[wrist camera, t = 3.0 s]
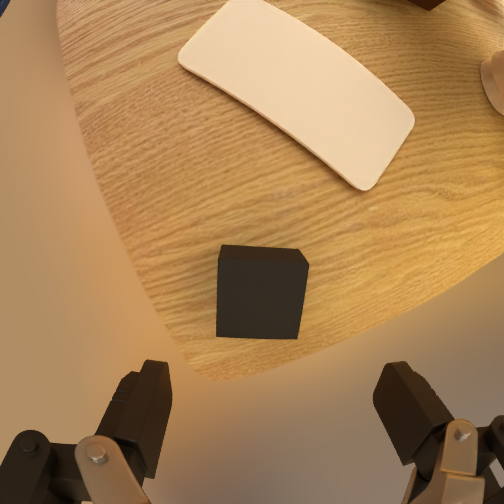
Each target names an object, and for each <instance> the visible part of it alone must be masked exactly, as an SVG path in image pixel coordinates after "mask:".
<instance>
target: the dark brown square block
mask: <svg viewBox="0 0 504 504" xmlns="http://www.w3.org/2000/svg"><path fill="white" fill-rule="evenodd" d="M308 270H309V263H308V261H307V260H306V259H305V257H304V256H303V254H302V253H301V252H300V250H299V249H287V248H270V247H254V246H236V245H222V246H221V250H220V254H219V258H218V279H217V320H216V336H217V337H229V338H251V339H297V338H298V333H299V327H300V321H301V315H302V309H303V303H304V297H305V290H306V283H307V277H308Z"/></svg>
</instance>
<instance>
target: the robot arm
mask: <svg viewBox="0 0 504 504" xmlns="http://www.w3.org/2000/svg"><path fill="white" fill-rule="evenodd" d="M0 1H1V0H0ZM373 404H374V407H375V409H376V411H377V413H378V414H379V417H380V419H381V421H382V423H383V425H384V427H385V429H386V431H387V433H388V435H389V437H390V439H391V441H392V443H393V445H394V447H395V449H396V451H397V454H398V456H399V458H400V460H401V462H402V464H403V466H404V465H407V464H410V463H413V462H414V463H415V465H416V466H415V467H414V469H413V471H412V474H411V477H410V480H409V483H408V486H407V490H406V492H405V495H404V498H403V501H402V503H401V504H504V487H503V488H501V487H500V486H499V484H498V482H497V480H496V478H495V476H494V474H493V473H492V471H491V469H490V467H489V466H490V464H491V463H492V462H493V461H494V460H495V459H496V458H497V459H498V461H499V463H500V464H501V466H502V468H503V470H504V415H500V416H497V417H495V418H494V420H493V421H492V423H491V424H490V425H489V426H487V427H479V428H476V427H475V426H474V425H473V424H472V423H471V422H469V421H467V420H464V419H456V420H455V419H454V418H453V416H452V415H451V413H450V412H449V410H448V409H447V408H446V406H445V405H444V404H443V402H442V401H441V400H440V398H439V397H438V395H437V396H436V393H435V391H434V390H433V389H431V386H430V385H429V383H428V382H427V381H426V379H425V378H423V377H422V376H421V375H419V374H418V373H416V372H413V370H412V369H411V367H410V366H409V365H408V363H406V362H405V361H400V362H393V363H387V364H386V365H385V366H384V368H383V371H382V373H381V376H380V379H379V381H378V383H377V386H376V388H375V390H374V393H373ZM171 406H172V388H171V382H170V374H169V367H168V363H167V362H162V361H154V360H146V361H145V362H144V364H143V366H142V369H141V371H140V372H134V371H131V372H130V373H129V374H127V375H126V376H125V377H124V378H122V379H121V381H120V383H119V385H118V387H117V389H116V392H115V393H114V395H113V397H112V401H110V404H109V406H108V408H107V410H106V412H105V414H104V416H103V418H102V420H101V423H100V425H99V427H98V429H97V431H96V433H95V434H94V435H93V436H89V437H86V438H84V439H82V440H81V441H80V442H79V443H78V444H60V443H50V442H49V440H48V439H47V438H46V436H45V435H44V434H42V433H41V432H39V431H35V430H26V431H23V432H21V433H19V434H18V435H17V436H16V437H15V439H14V440H13V442H12V444H11V446H10V448H9V450H8V452H7V454H6V456H5V458H4V460H3V462H2V464H1V466H0V504H81V502H82V501H90V502H93V504H151V502H150V500H149V499H148V498H147V496H146V494H145V492H144V491H143V489H142V485H143V481H144V477H146V478H151V479H154V478H155V473H156V469H157V464H158V460H159V456H160V452H161V447H162V443H163V439H164V435H165V431H166V427H167V423H168V419H169V415H170V411H171Z"/></svg>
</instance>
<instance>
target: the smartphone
mask: <svg viewBox="0 0 504 504" xmlns="http://www.w3.org/2000/svg"><path fill="white" fill-rule="evenodd" d="M178 61H179V63H180V64H181V66H182V67H183V68H185V69H186V70H188V71H190V72H192V73H194V74H195V75H197V76H199V77H201V78H202V79H204V80H206V81H208V82H209V83H211V84H213V85H214V86H216V87H218V88H219V89H221V90H223V91H224V92H226V93H228V94H229V95H231V96H232V97H234V98H236V99H237V100H239V101H240V102H242V103H243V104H245V105H246V106H248V107H250V108H251V109H253V110H254V111H256V112H257V113H259V114H260V115H261V116H263V117H264V118H266V119H267V120H269V121H270V122H272V123H273V124H274V125H276V126H277V127H279V128H280V129H281V130H283V131H284V132H285V133H287V134H288V135H290V136H291V137H292V138H294V139H295V140H296V141H297V142H299V143H300V144H301V145H303V146H304V147H305V148H306V149H308V150H309V151H310V152H312V153H313V154H314V155H315V156H317V157H318V158H319V159H321V160H322V161H323V162H324V163H326V164H327V165H328V166H329V167H330V168H332V169H333V170H334V171H335V172H336V173H338V174H339V175H340V176H341V177H342V178H343V179H345V180H346V181H347V182H348V183H349V184H350V185H352V186H353V187H354V188H356V189H359V190H369V189H370V188H372V187H373V186H374V185H375V183H376V182H377V180H378V179H379V178H380V176H381V175H382V173H383V172H384V170H385V169H386V167H387V166H388V164H389V163H390V162H391V160H392V159H393V157H394V156H395V154H396V153H397V151H398V150H399V148H400V147H401V145H402V144H403V142H404V140H405V139H406V137H407V136H408V134H409V133H410V131H411V130H412V128H413V126H414V123H415V118H414V115H413V113H412V111H411V110H410V109H409V107H408V106H407V105H406V104H405V103H404V102H403V101H402V100H401V99H400V98H399V97H398V96H397V95H396V94H395V93H393V92H392V91H391V90H390V89H389V88H388V87H387V86H386V85H385V84H384V83H383V82H382V81H381V80H379V79H378V78H377V77H376V76H375V75H374V74H373V73H371V72H370V71H369V70H368V69H367V68H365V67H364V66H363V65H362V64H361V63H359V62H358V61H357V60H356V59H354V58H353V57H352V56H350V55H349V54H348V53H347V52H345V51H344V50H343V49H341V48H340V47H339V46H337V45H336V44H334V43H333V42H332V41H330V40H329V39H327V38H326V37H324V36H323V35H321V34H320V33H318V32H317V31H315V30H314V29H312V28H311V27H309V26H308V25H306V24H304V23H303V22H301V21H299V20H298V19H296V18H294V17H293V16H291V15H289V14H287V13H286V12H284V11H282V10H280V9H278V8H277V7H275V6H273V5H271V4H269V3H267V2H265V1H263V0H229V1H228V2H227V3H226V4H225V5H224V6H223V7H222V8H220V9H219V10H218V11H217V12H216V13H215V14H214V15H213V16H212V17H211V18H210V19H209V20H208V21H207V22H206V23H205V24H204V25H203V26H202V27H201V28H200V29H199V30H198V31H197V32H196V33H195V34H194V35H193V36H192V37H191V38H190V39H189V41H188V42H187V43H186V44H185V45H184V46H183V47H182V49H181V50H180V51H179V53H178Z"/></svg>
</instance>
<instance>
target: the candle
mask: <svg viewBox="0 0 504 504" xmlns="http://www.w3.org/2000/svg"><path fill="white" fill-rule="evenodd" d="M480 75H481V80H482V84H483V87H484V90H485V93H486V95H487V97H488V99H489V101H490V102H491V104H492V105H493V107H494V108H495V109H496V110H497V112H499V113H500V114H501V115H504V51H499V52H496V53H494V54H493V56H492V61H490V60H484V61H483V62H482V63H481V66H480Z"/></svg>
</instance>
